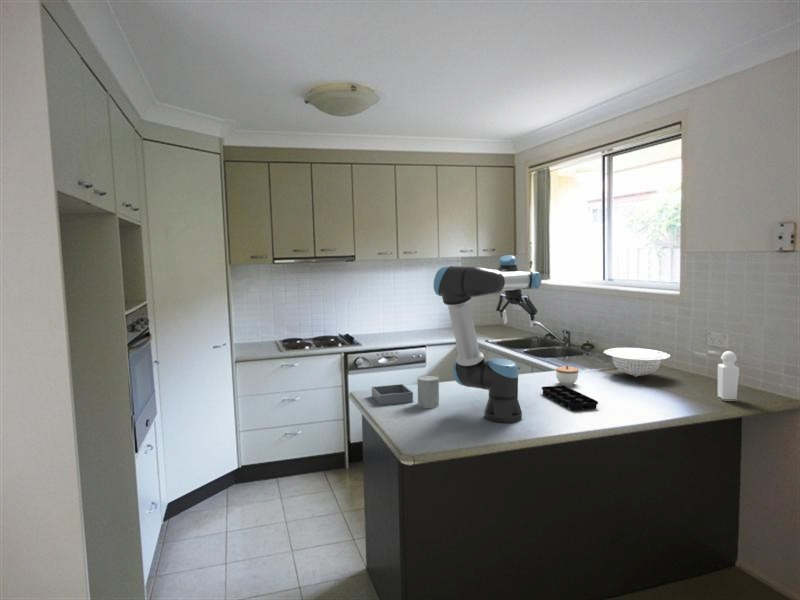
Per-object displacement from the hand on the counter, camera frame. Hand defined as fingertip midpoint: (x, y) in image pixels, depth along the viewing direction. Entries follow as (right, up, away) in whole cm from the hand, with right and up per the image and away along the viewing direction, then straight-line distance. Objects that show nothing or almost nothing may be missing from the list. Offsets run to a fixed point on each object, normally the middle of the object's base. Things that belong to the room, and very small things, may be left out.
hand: (518, 324), depth 259 cm
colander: (+66, -29, +19) cm, 74 cm away
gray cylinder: (-45, -35, -25) cm, 62 cm away
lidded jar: (+26, -31, +7) cm, 41 cm away
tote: (-62, -34, -15) cm, 72 cm away
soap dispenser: (+87, -33, -23) cm, 96 cm away
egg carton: (+17, -34, -21) cm, 44 cm away
